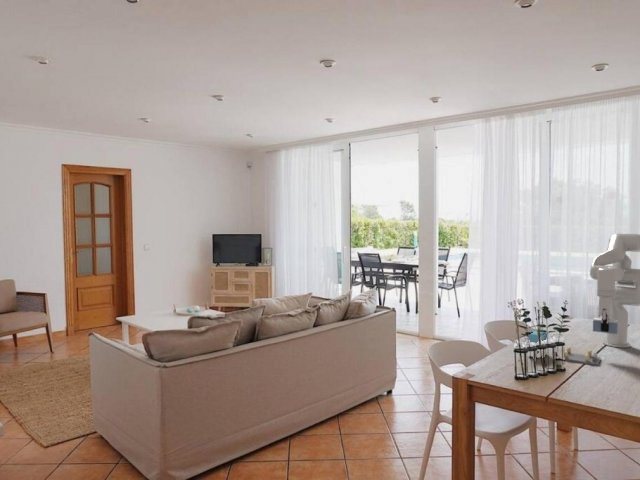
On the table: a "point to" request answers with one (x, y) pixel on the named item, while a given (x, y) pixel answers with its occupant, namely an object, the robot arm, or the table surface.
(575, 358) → the tray
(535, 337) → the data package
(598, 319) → the block
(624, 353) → the table surface
